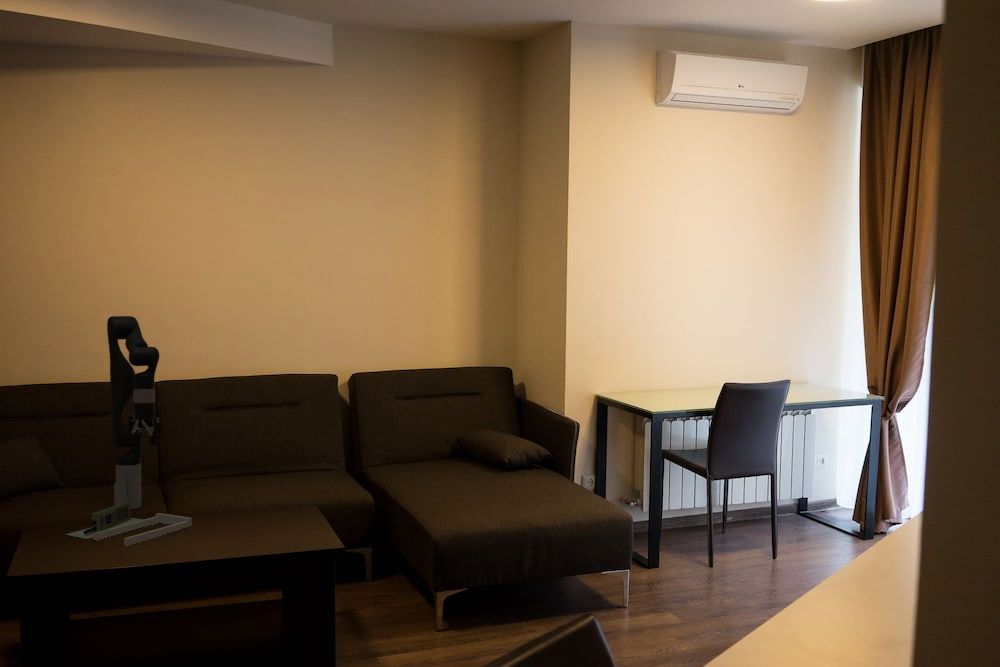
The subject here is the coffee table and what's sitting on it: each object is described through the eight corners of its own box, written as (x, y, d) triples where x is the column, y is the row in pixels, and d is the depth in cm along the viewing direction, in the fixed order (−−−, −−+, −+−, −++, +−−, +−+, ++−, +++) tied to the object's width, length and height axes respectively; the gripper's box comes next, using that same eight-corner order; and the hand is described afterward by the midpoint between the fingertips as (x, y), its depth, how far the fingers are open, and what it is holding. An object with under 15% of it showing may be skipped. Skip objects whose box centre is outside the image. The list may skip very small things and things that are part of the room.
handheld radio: (132, 519, 336) (89, 536, 312) (124, 519, 337) (81, 536, 312) (131, 501, 336) (88, 516, 312) (123, 501, 337) (80, 516, 312)
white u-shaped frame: (93, 540, 308) (93, 530, 308) (158, 522, 334) (158, 512, 334) (127, 546, 301) (127, 535, 301) (191, 527, 327) (191, 517, 327)
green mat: (64, 535, 314) (64, 534, 314) (130, 518, 339) (130, 517, 339) (87, 539, 309) (87, 538, 309) (151, 522, 334) (151, 520, 334)
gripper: (166, 401, 336) (166, 444, 336) (138, 399, 342) (138, 441, 343) (150, 403, 329) (150, 447, 330) (122, 400, 335) (122, 444, 336)
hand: (144, 444), depth 336 cm, fingers open, 8 cm apart
